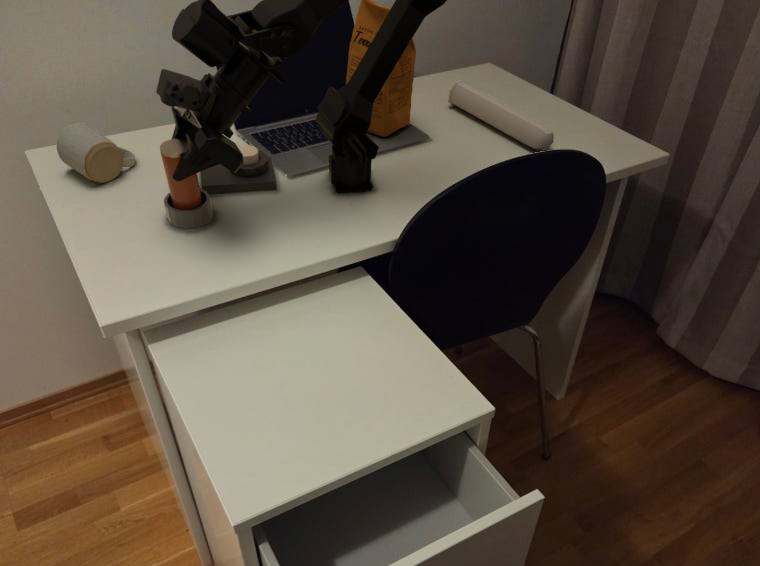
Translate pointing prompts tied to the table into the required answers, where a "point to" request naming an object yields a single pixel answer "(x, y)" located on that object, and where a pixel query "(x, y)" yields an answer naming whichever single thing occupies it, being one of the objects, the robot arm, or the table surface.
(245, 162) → the release button
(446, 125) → the table surface
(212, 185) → the plate with ring holder
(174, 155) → the orange metal cylinder
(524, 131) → the tube
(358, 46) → the coffee package
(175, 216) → the capsule holder
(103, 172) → the ceramic mug
